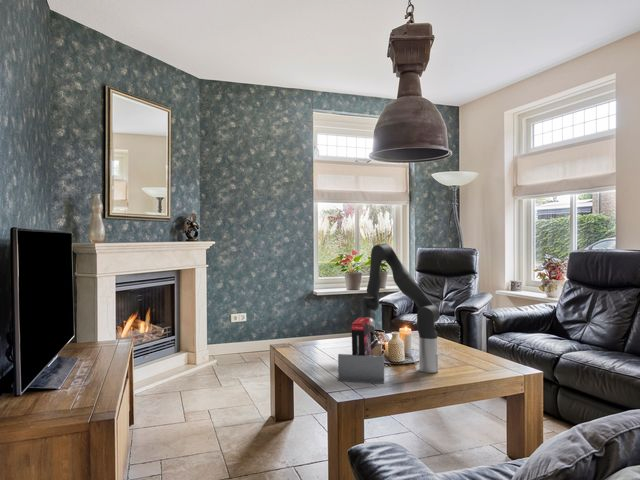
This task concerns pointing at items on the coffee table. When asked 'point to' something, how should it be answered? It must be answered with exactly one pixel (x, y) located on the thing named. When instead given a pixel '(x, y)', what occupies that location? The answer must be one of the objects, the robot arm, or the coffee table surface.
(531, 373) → the coffee table surface
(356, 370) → the bracket
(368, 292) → the robot arm
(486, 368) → the coffee table surface
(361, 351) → the graphics card box
